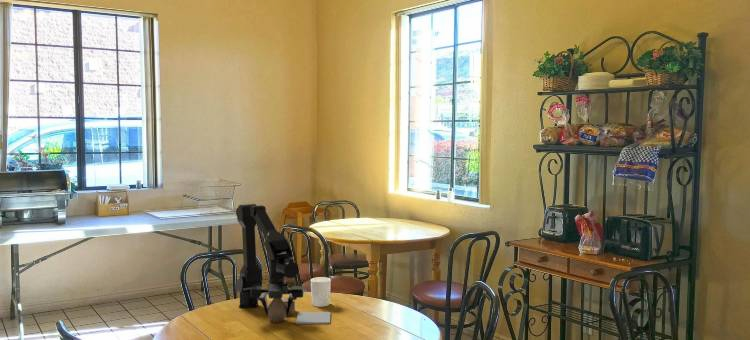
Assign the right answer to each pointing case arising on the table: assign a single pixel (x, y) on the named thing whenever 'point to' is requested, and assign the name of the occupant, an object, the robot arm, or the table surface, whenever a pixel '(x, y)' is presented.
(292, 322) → the table surface
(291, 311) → the letter cube
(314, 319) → the grey mat
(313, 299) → the white cup
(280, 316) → the vase
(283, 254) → the robot arm
